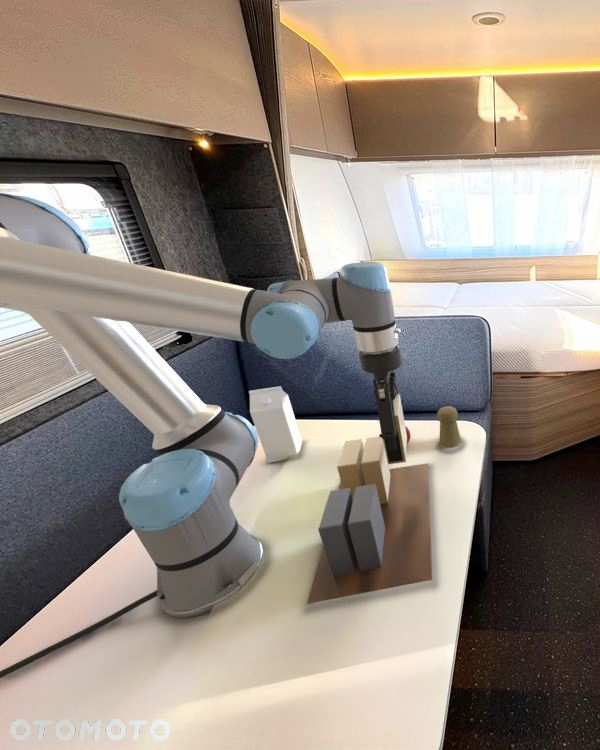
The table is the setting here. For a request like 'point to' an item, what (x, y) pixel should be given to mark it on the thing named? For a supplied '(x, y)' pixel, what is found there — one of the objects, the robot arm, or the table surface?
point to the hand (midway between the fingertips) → (397, 446)
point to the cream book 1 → (351, 465)
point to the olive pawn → (448, 427)
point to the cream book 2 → (376, 467)
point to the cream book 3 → (399, 429)
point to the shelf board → (389, 542)
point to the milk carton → (275, 423)
